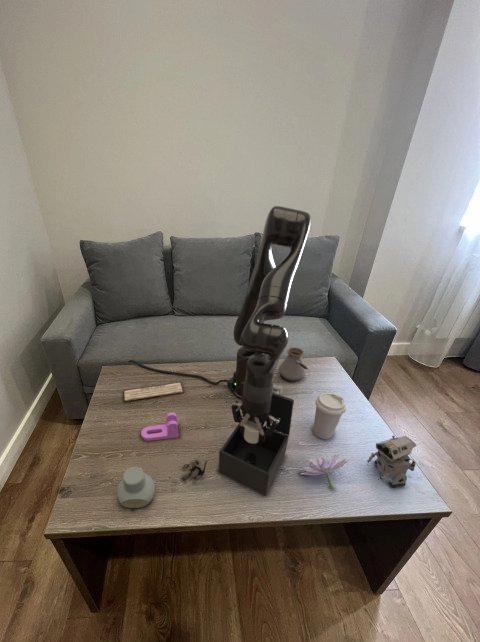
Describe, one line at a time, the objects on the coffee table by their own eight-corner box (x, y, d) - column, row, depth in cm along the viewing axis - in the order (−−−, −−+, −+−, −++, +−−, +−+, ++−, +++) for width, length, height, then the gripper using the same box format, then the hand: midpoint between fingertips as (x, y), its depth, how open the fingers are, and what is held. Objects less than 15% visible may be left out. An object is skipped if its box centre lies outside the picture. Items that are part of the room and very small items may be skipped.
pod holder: (252, 475, 98) (253, 464, 95) (241, 469, 99) (242, 458, 97) (256, 466, 100) (258, 455, 97) (246, 461, 102) (247, 450, 99)
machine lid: (293, 401, 86) (299, 388, 89) (240, 383, 94) (248, 371, 97) (288, 435, 98) (294, 423, 101) (242, 417, 106) (249, 405, 109)
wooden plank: (125, 402, 128) (124, 398, 127) (124, 391, 134) (124, 387, 133) (182, 393, 132) (182, 390, 131) (179, 383, 138) (179, 379, 137)
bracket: (176, 425, 117) (176, 411, 113) (178, 437, 112) (177, 423, 108) (141, 430, 115) (139, 416, 112) (141, 441, 111) (139, 427, 107)
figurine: (356, 465, 101) (369, 432, 93) (390, 461, 102) (406, 428, 94) (373, 491, 93) (389, 457, 85) (409, 486, 94) (429, 453, 86)
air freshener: (116, 510, 90) (111, 489, 84) (120, 484, 97) (115, 463, 91) (155, 508, 90) (152, 487, 85) (156, 482, 97) (153, 461, 92)
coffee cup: (339, 444, 108) (350, 411, 100) (310, 440, 110) (318, 408, 101) (334, 424, 116) (344, 392, 108) (307, 420, 117) (314, 389, 109)
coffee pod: (238, 437, 92) (239, 425, 89) (249, 426, 96) (251, 414, 93) (254, 448, 89) (256, 435, 86) (265, 436, 92) (267, 423, 89)
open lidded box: (265, 496, 93) (269, 475, 87) (218, 472, 100) (219, 451, 94) (284, 456, 104) (288, 435, 99) (241, 437, 111) (243, 417, 106)
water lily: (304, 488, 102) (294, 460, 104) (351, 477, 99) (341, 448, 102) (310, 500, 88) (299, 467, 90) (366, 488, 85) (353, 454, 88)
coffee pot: (275, 368, 145) (279, 340, 137) (300, 368, 145) (306, 339, 137) (286, 399, 128) (291, 369, 119) (315, 399, 127) (322, 369, 119)
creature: (177, 479, 99) (199, 487, 95) (173, 467, 97) (195, 474, 92) (191, 461, 105) (211, 468, 100) (187, 449, 102) (208, 455, 98)
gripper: (289, 394, 82) (280, 439, 92) (239, 376, 89) (235, 419, 98) (278, 411, 77) (270, 457, 86) (226, 391, 84) (224, 435, 93)
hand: (252, 437), depth 92 cm, fingers closed on coffee pod, 4 cm apart
